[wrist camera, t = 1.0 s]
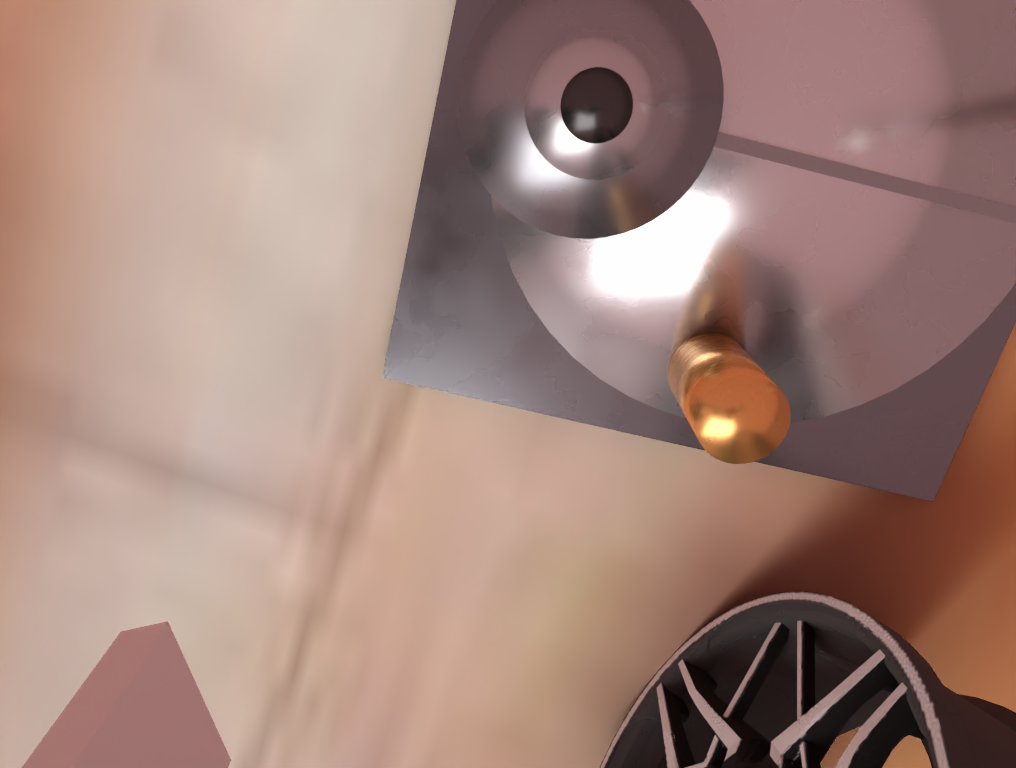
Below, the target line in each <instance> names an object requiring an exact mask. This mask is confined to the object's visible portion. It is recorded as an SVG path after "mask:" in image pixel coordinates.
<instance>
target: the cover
mask: <svg viewBox="0 0 1016 768" xmlns="http://www.w3.org/2000/svg"><path fill="white" fill-rule="evenodd" d="M723 102H724V85H723V76H722V68H721V63H720V59H719V55H718V51H717V48H716V45H715V42H714V40H713V38H712V35H711V33H710V30H709V28H708V27H707V25H706V23H705V21H704V20H703V18H702V16H701V15H700V13H699V12H698V10H697V9H696V8H695V7H694V5H693V4H692V3H691V1H690V0H498V1H497V2H496V3H495V4H494V5H493V6H492V7H491V9H490V10H489V11H488V13H487V14H486V15H485V17H484V18H483V19H482V21H481V22H480V24H479V26H478V28H477V29H476V31H475V33H474V35H473V37H472V39H471V41H470V44H469V46H468V49H467V51H466V53H465V57H464V60H463V64H462V68H461V71H460V78H459V85H458V97H457V111H458V121H459V129H460V133H461V137H462V141H463V145H464V148H465V151H466V153H467V156H468V159H469V161H470V163H471V165H472V167H473V169H474V171H475V173H476V175H477V177H478V178H479V180H480V181H481V183H482V184H483V185H484V187H485V188H486V190H487V191H488V192H489V193H490V194H491V196H492V197H493V198H494V199H495V200H496V201H497V202H498V203H499V204H500V205H501V206H502V207H503V208H505V209H506V210H507V211H508V212H509V213H511V214H512V215H513V216H515V217H516V218H518V219H520V220H521V221H523V222H524V223H526V224H528V225H530V226H532V227H534V228H536V229H539V230H541V231H544V232H547V233H550V234H553V235H557V236H562V237H568V238H577V239H595V238H605V237H610V236H615V235H619V234H623V233H626V232H628V231H631V230H634V229H637V228H639V227H641V226H643V225H645V224H647V223H649V222H651V221H653V220H654V219H656V218H657V217H659V216H660V215H661V214H663V213H664V212H666V211H667V210H668V209H670V208H671V207H672V206H673V205H674V204H675V203H676V202H677V201H679V200H680V199H681V198H682V197H683V195H684V194H685V193H686V192H687V191H688V190H689V189H690V187H691V186H692V185H693V184H694V182H695V181H696V179H697V178H698V176H699V175H700V173H701V172H702V170H703V169H704V167H705V165H706V163H707V161H708V159H709V157H710V155H711V153H712V150H713V147H714V145H715V142H716V139H717V136H718V132H719V128H720V124H721V119H722V111H723Z"/></svg>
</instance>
